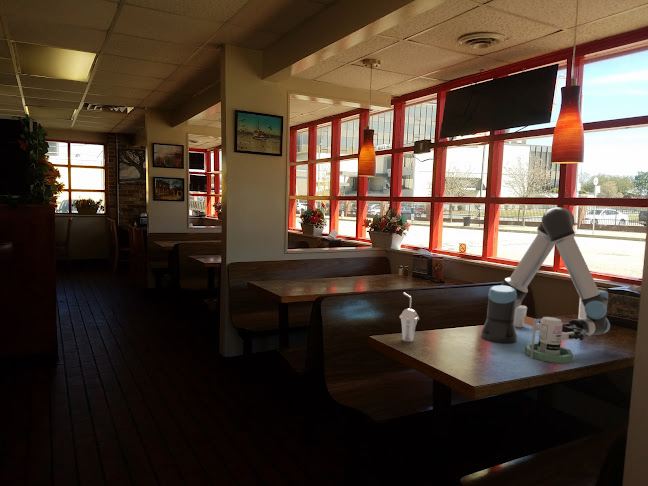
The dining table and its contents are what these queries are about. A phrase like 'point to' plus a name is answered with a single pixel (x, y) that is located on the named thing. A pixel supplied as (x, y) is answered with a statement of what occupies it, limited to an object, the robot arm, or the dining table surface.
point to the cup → (533, 352)
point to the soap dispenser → (581, 310)
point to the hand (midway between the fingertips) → (547, 332)
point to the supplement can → (550, 336)
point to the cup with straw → (408, 322)
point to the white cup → (520, 316)
